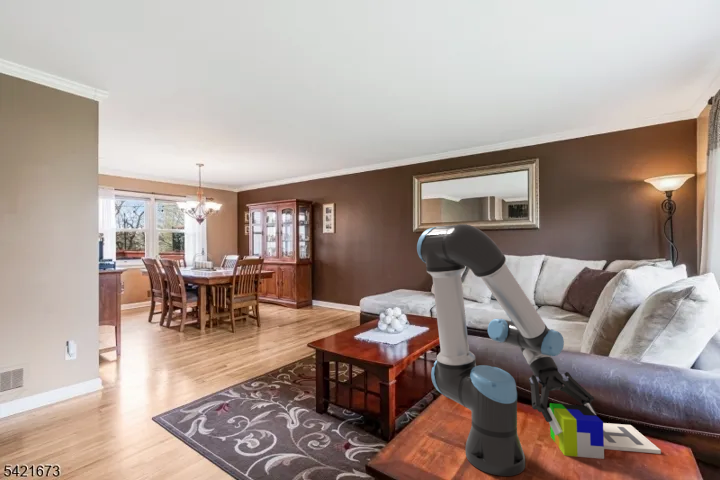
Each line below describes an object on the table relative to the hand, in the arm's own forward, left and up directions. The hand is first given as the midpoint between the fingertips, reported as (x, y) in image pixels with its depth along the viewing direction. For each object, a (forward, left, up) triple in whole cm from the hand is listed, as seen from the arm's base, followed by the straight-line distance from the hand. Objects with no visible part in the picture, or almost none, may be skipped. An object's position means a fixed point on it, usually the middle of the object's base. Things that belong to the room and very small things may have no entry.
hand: (579, 430), depth 98 cm
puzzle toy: (-1, +1, -5) cm, 6 cm away
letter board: (+14, +8, -5) cm, 17 cm away
